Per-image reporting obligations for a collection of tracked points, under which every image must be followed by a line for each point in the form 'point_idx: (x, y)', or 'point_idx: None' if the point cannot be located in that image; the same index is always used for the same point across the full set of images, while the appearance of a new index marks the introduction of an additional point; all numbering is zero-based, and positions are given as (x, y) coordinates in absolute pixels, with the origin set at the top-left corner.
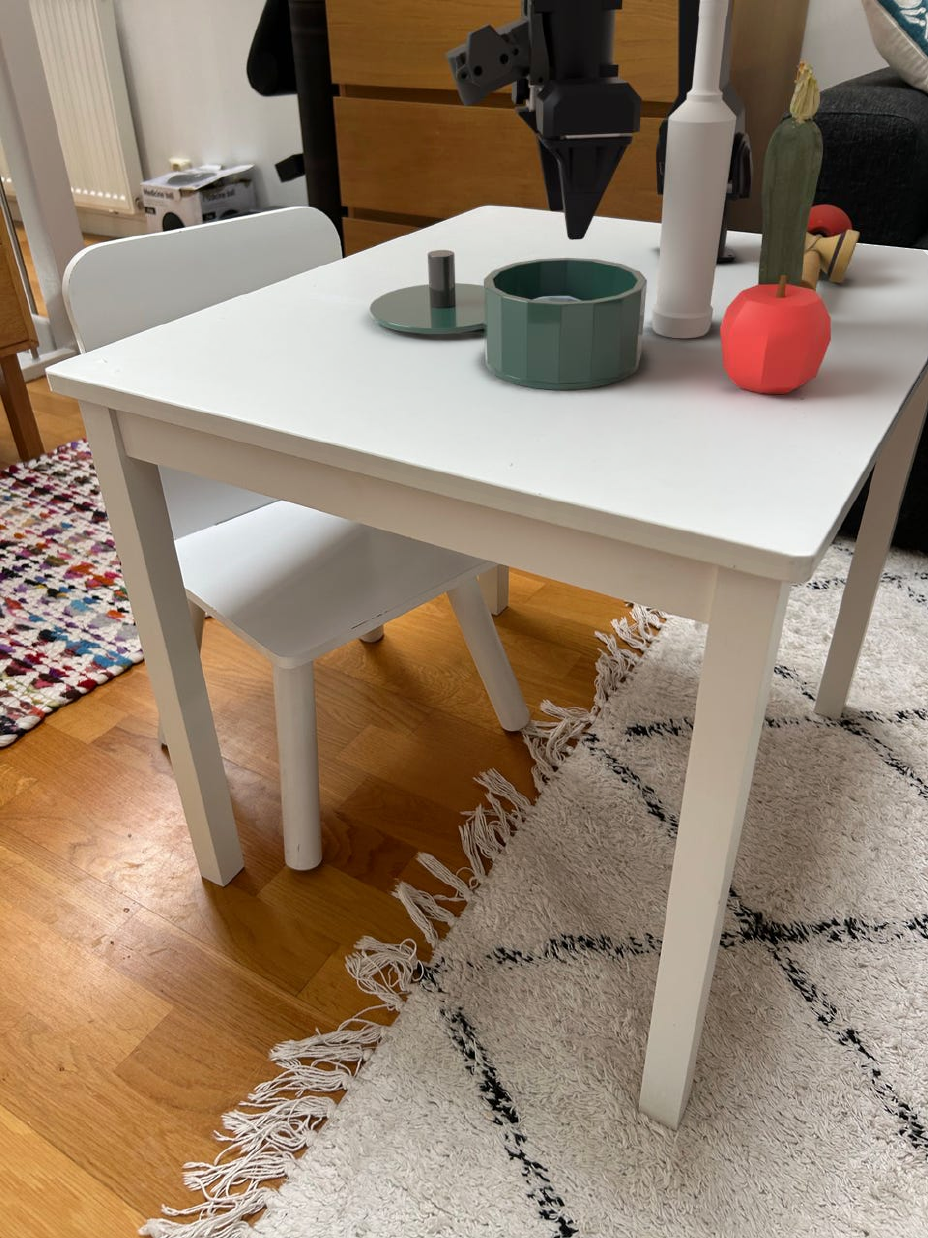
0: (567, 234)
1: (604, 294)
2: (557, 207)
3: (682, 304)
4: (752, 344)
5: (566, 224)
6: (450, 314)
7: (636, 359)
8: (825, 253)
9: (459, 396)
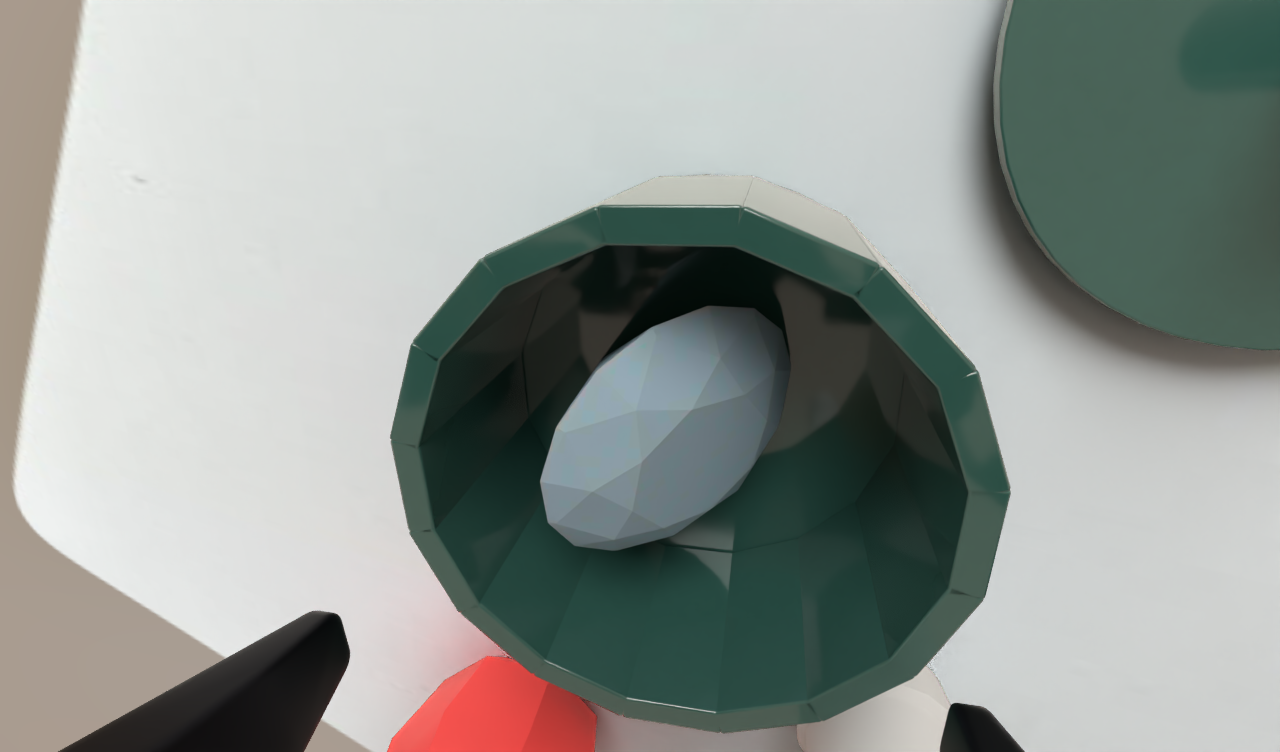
0: (312, 618)
1: (830, 603)
2: (950, 744)
3: (812, 742)
4: (405, 735)
5: (261, 647)
6: (1194, 55)
7: None
8: None
9: (476, 74)
